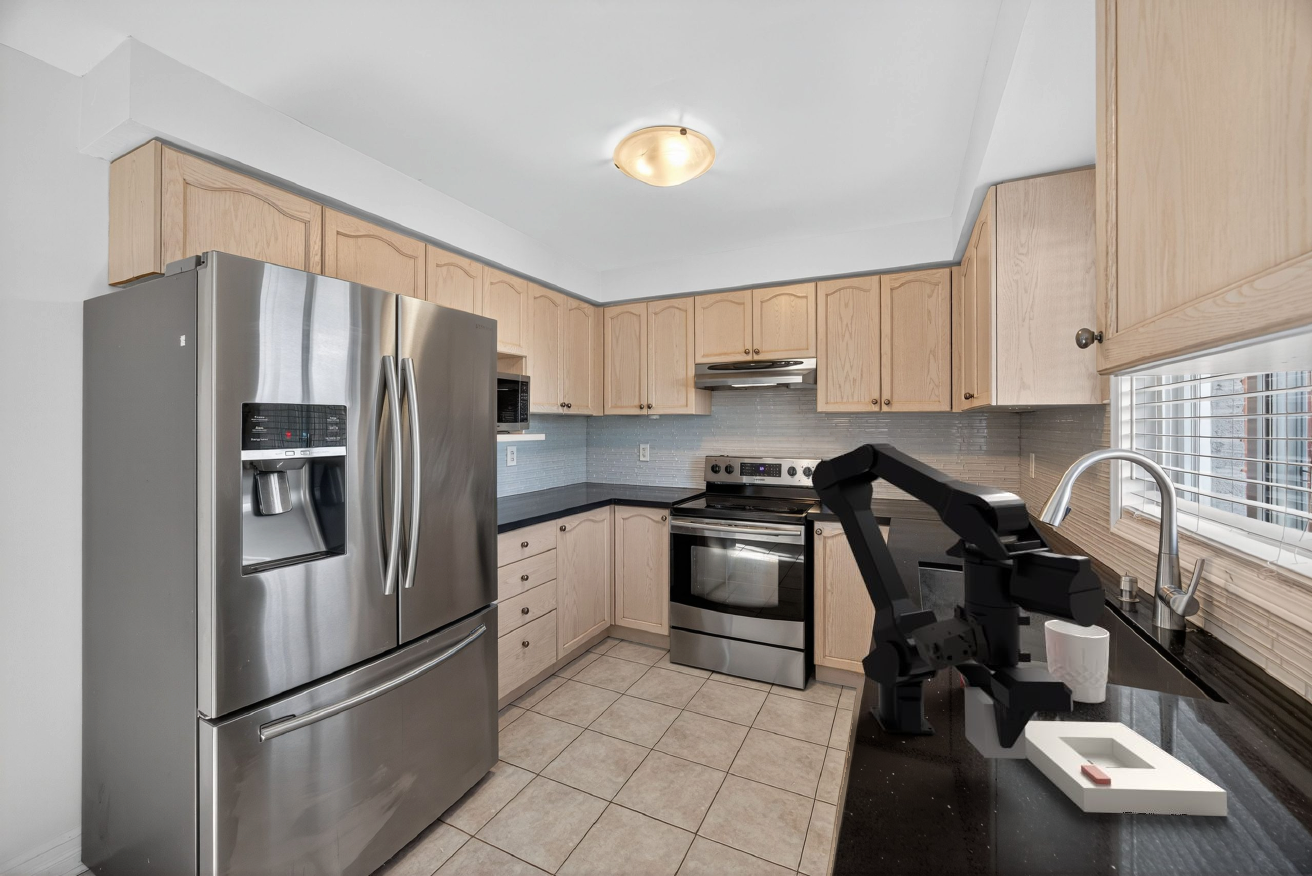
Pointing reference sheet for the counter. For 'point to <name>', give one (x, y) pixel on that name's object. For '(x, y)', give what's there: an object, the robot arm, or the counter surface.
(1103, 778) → the socket plate
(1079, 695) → the white cup
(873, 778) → the counter surface
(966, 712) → the plug
